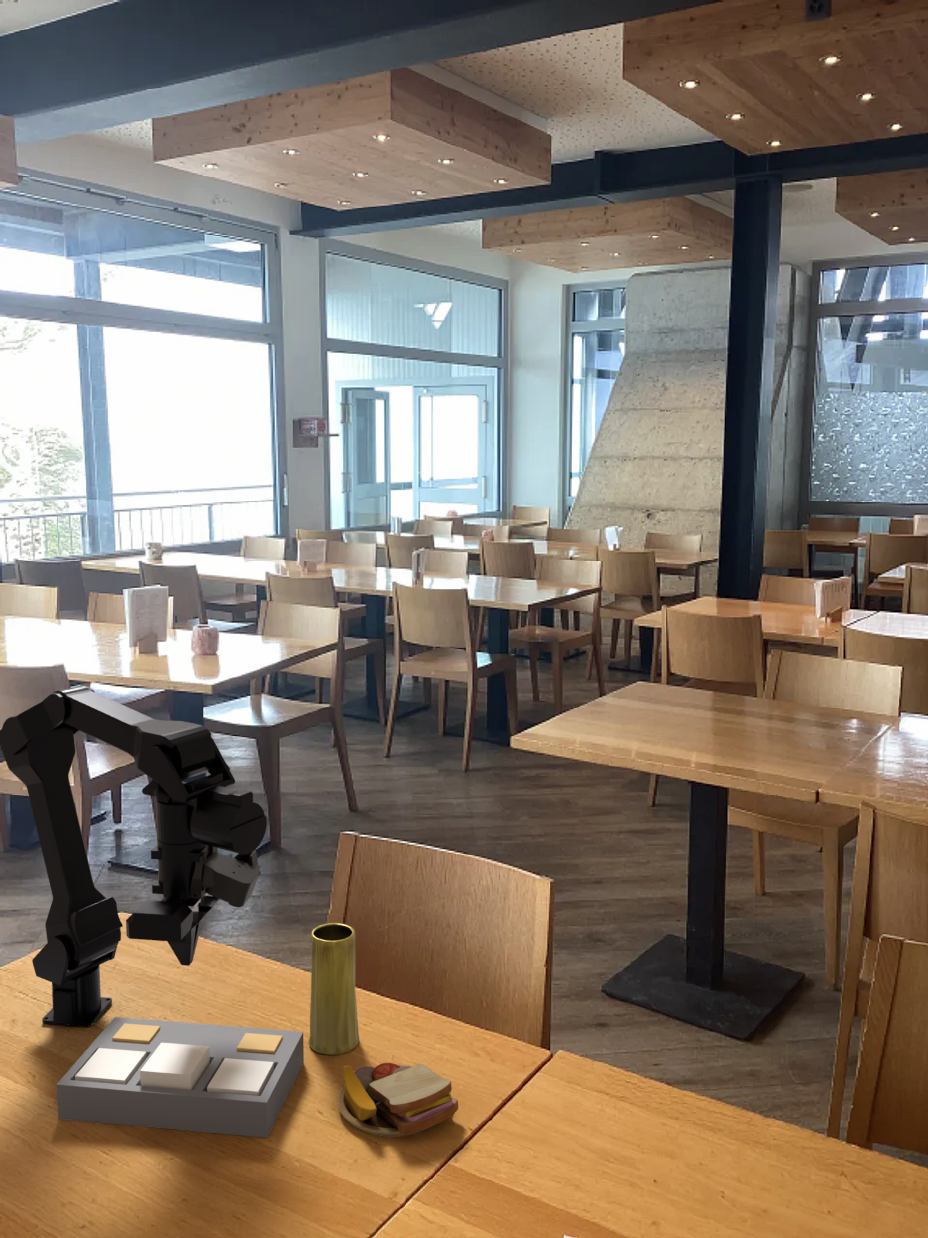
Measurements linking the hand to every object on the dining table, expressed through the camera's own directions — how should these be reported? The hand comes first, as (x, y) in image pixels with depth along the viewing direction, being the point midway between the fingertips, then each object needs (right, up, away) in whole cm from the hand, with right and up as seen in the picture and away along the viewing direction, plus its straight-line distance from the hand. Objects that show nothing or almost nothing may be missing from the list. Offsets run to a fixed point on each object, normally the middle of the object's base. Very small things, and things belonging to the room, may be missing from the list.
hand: (186, 964), depth 124 cm
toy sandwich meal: (+25, -14, -7) cm, 30 cm away
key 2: (+8, -12, -8) cm, 16 cm away
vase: (+17, -12, +6) cm, 21 cm away
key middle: (+1, -10, -7) cm, 13 cm away
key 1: (-7, -11, -6) cm, 15 cm away
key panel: (+1, -13, -4) cm, 14 cm away
